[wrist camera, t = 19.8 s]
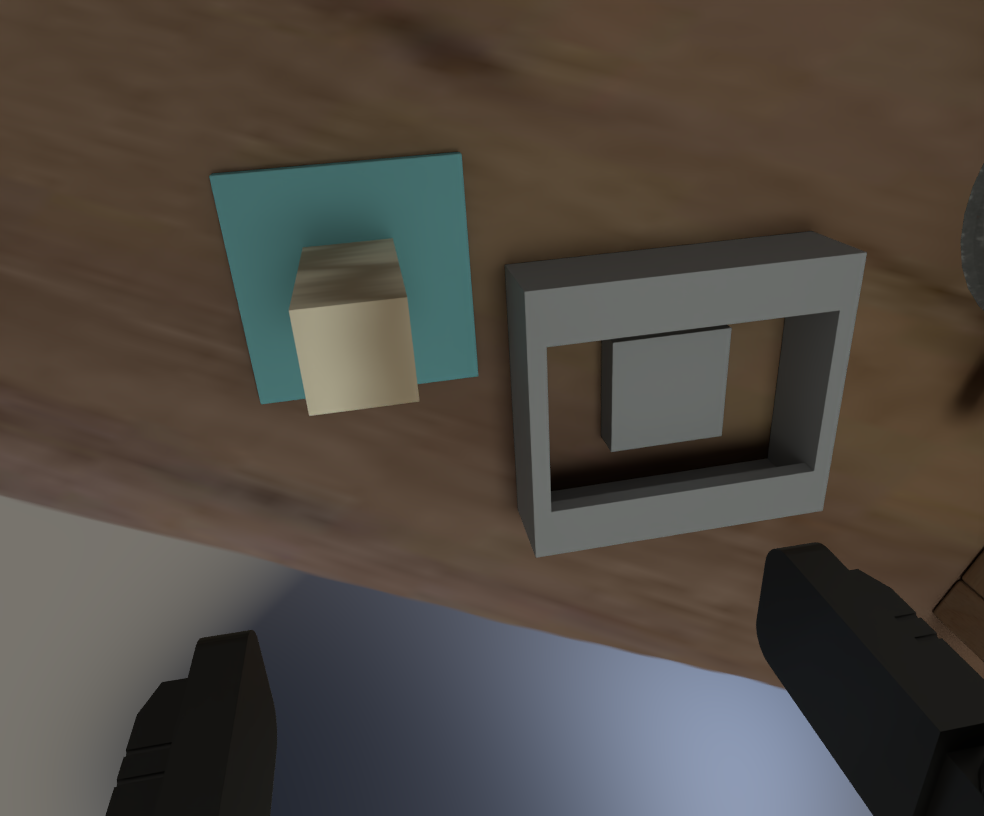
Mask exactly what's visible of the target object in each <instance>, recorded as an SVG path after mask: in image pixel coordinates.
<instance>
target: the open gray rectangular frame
mask: <svg viewBox="0 0 984 816" xmlns="http://www.w3.org/2000/svg"><path fill="white" fill-rule="evenodd" d="M866 255H867V252H864V251H862V250H859V249H857V248H854V247H851V246H849V245H846V244H844V243H841V242H839V241H836V240H833V239H831V238H828V237H826V236H823V235H821V234H818V233H815V232H813V231H809V232H800V233H791V234H782V235H772V236H763V237H754V238H745V239H736V240H727V241H718V242H708V243H699V244H690V245H681V246H672V247H663V248H654V249H644V250H635V251H626V252H617V253H608V254H599V255H590V256H580V257H571V258H562V259H553V260H544V261H535V262H526V263H516V264H507V265H505V280H506V299H507V317H508V336H509V354H510V373H511V391H512V410H513V428H514V447H515V465H516V484H517V502H518V511H519V514H520V517H521V519H522V522H523V525H524V527H525V530H526V533H527V535H528V538H529V541H530V543H531V546H532V549H533V551H534V554H535V557H543V556H549V555H555V554H561V553H567V552H573V551H579V550H585V549H591V548H597V547H604V546H610V545H616V544H622V543H628V542H634V541H640V540H646V539H652V538H658V537H665V536H671V535H677V534H683V533H689V532H695V531H701V530H707V529H713V528H719V527H726V526H732V525H738V524H744V523H750V522H756V521H762V520H768V519H774V518H780V517H787V516H793V515H799V514H805V513H811V512H817V511H823V505H824V499H825V493H826V487H827V482H828V476H829V470H830V464H831V458H832V453H833V447H834V441H835V435H836V429H837V423H838V418H839V412H840V406H841V400H842V394H843V389H844V383H845V377H846V371H847V365H848V360H849V354H850V348H851V342H852V336H853V330H854V325H855V319H856V313H857V307H858V301H859V296H860V290H861V284H862V278H863V272H864V267H865V261H866ZM783 317H785V323H784V331H783V339H782V347H781V355H780V362H779V370H778V378H777V386H776V394H775V402H774V410H773V418H772V426H771V434H770V442H769V450H768V458H767V459H761V460H754V461H748V462H741V463H734V464H728V465H721V466H715V467H708V468H702V469H695V470H688V471H682V472H675V473H669V474H662V475H656V476H649V477H642V478H636V479H629V480H623V481H616V482H609V483H603V484H596V485H590V486H583V487H577V488H570V489H563V490H557V491H551V484H550V450H549V416H548V382H547V348H546V347H552V346H560V345H568V344H576V343H584V342H592V341H600V340H602V376H601V437H602V438H603V440H604V442H605V443H606V445H607V446H608V448H609V449H610V451H611V452H614V451H621V450H628V449H635V448H642V447H649V446H655V445H662V444H669V443H676V442H683V441H690V440H696V439H703V438H710V437H717V436H722V425H723V415H724V404H725V393H726V382H727V371H728V360H729V349H730V338H731V327H729V326H728V325H727V324H735V323H743V322H751V321H759V320H767V319H775V318H783Z"/></svg>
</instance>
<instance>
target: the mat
mask: <svg viewBox="0 0 984 816" xmlns="http://www.w3.org/2000/svg"><path fill="white" fill-rule="evenodd" d="M209 177H210V182H211V186H212V191H213V195H214V199H215V204H216V208H217V213H218V217H219V221H220V226H221V230H222V235H223V239H224V243H225V248H226V252H227V257H228V261H229V265H230V270H231V274H232V279H233V283H234V288H235V292H236V296H237V301H238V305H239V310H240V314H241V318H242V323H243V327H244V332H245V336H246V340H247V345H248V349H249V354H250V358H251V362H252V367H253V371H254V376H255V380H256V384H257V389H258V393H259V398H260V402H261V404H267V403H275V402H282V401H290V400H298V399H306V397H305V392H304V387H303V381H302V376H301V371H300V366H299V361H298V356H297V351H296V345H295V340H294V335H293V330H292V325H291V320H290V315H289V307H290V302H291V298H292V293H293V289H294V284H295V280H296V275H297V271H298V266H299V262H300V257H301V253H302V248H303V247H312V246H322V245H332V244H342V243H352V242H362V241H371V240H381V239H391V238H393V241H394V246H395V250H396V254H397V258H398V262H399V266H400V270H401V274H402V278H403V282H404V286H405V290H406V294H407V299H408V308H409V316H410V325H411V334H412V342H413V351H414V359H415V368H416V376H417V384H422V383H430V382H437V381H445V380H453V379H461V378H468V377H476V376H478V366H477V352H476V339H475V326H474V313H473V300H472V287H471V273H470V260H469V247H468V234H467V221H466V207H465V194H464V181H463V168H462V155H461V153H460V152H451V153H440V154H429V155H417V156H406V157H395V158H383V159H372V160H361V161H349V162H338V163H326V164H315V165H304V166H292V167H281V168H270V169H258V170H247V171H235V172H224V173H213V174H211V175H210V176H209Z"/></svg>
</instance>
